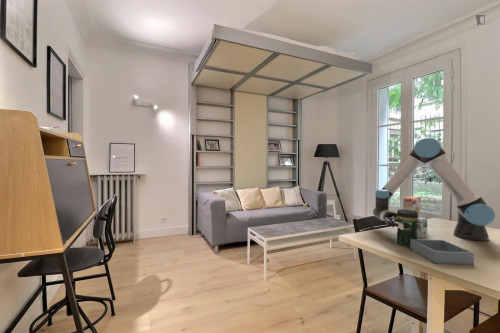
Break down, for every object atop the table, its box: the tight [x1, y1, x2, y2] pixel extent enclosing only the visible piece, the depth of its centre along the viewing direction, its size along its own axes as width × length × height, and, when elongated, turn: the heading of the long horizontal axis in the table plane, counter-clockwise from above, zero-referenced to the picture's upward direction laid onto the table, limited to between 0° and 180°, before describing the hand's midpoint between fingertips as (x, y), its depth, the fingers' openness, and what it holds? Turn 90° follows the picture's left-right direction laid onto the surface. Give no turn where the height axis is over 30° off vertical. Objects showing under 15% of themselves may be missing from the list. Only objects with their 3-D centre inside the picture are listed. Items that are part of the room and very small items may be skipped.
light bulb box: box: [417, 216, 428, 238], centre depth 144 cm, size 11×7×11 cm, turn 34°
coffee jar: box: [395, 208, 419, 248], centre depth 125 cm, size 10×8×19 cm
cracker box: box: [402, 195, 421, 217], centre depth 157 cm, size 14×6×21 cm, turn 127°
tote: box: [410, 238, 475, 266], centre depth 110 cm, size 16×18×5 cm
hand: (412, 227), depth 120 cm, fingers closed on coffee jar, 9 cm apart
